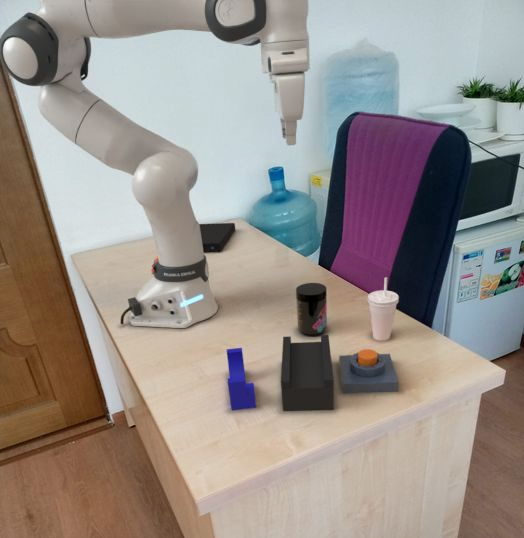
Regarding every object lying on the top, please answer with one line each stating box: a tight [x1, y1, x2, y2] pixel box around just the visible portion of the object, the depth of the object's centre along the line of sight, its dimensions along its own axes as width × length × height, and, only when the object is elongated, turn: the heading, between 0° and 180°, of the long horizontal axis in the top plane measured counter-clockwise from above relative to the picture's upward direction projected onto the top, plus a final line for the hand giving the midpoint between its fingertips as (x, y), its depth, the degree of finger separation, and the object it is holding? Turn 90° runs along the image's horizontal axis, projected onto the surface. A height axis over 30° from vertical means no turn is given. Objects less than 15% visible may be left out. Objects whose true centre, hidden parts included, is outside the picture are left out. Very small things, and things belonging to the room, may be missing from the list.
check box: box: [338, 352, 399, 394], centre depth 96 cm, size 10×10×4 cm
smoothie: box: [367, 276, 400, 341], centre depth 106 cm, size 6×6×14 cm
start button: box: [357, 348, 378, 366], centre depth 94 cm, size 4×4×2 cm
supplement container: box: [295, 282, 328, 338], centre depth 112 cm, size 7×7×10 cm
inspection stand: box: [280, 334, 335, 412], centre depth 94 cm, size 9×16×6 cm, turn 177°
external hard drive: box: [199, 222, 236, 253], centre depth 177 cm, size 14×23×3 cm, turn 171°
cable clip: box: [226, 347, 257, 411], centre depth 95 cm, size 12×4×6 cm, turn 5°
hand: (288, 141), depth 99 cm, fingers open, 8 cm apart
